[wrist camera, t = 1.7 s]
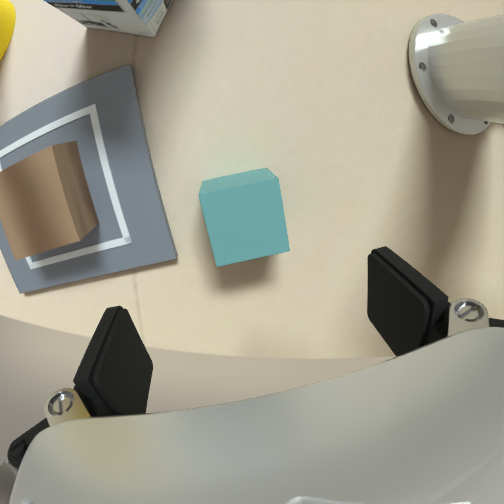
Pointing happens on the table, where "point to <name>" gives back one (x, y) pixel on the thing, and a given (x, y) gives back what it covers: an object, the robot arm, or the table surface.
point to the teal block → (244, 216)
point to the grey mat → (94, 181)
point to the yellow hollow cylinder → (6, 25)
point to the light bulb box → (116, 14)
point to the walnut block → (46, 201)
